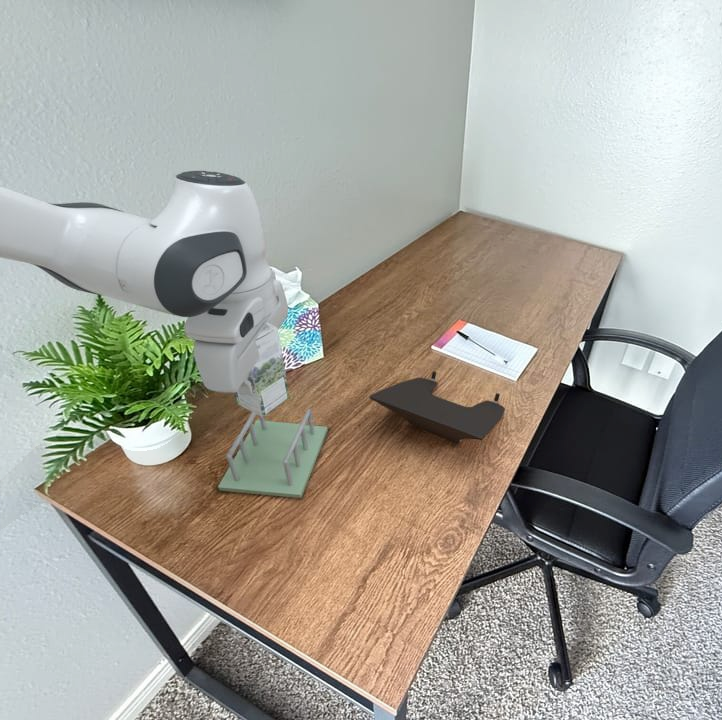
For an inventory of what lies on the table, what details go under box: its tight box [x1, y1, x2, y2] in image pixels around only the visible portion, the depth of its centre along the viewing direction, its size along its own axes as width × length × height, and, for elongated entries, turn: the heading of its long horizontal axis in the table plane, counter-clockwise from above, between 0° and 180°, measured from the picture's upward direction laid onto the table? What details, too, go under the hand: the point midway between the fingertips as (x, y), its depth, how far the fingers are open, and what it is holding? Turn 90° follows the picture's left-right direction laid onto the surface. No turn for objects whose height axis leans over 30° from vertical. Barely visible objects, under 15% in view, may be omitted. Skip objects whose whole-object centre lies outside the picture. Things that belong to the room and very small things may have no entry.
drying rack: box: [217, 408, 329, 499], centre depth 84 cm, size 16×14×7 cm
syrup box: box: [233, 322, 290, 418], centre depth 70 cm, size 6×6×14 cm
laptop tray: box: [369, 370, 506, 444], centre depth 95 cm, size 23×23×9 cm
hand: (259, 373), depth 71 cm, fingers closed on syrup box, 7 cm apart
